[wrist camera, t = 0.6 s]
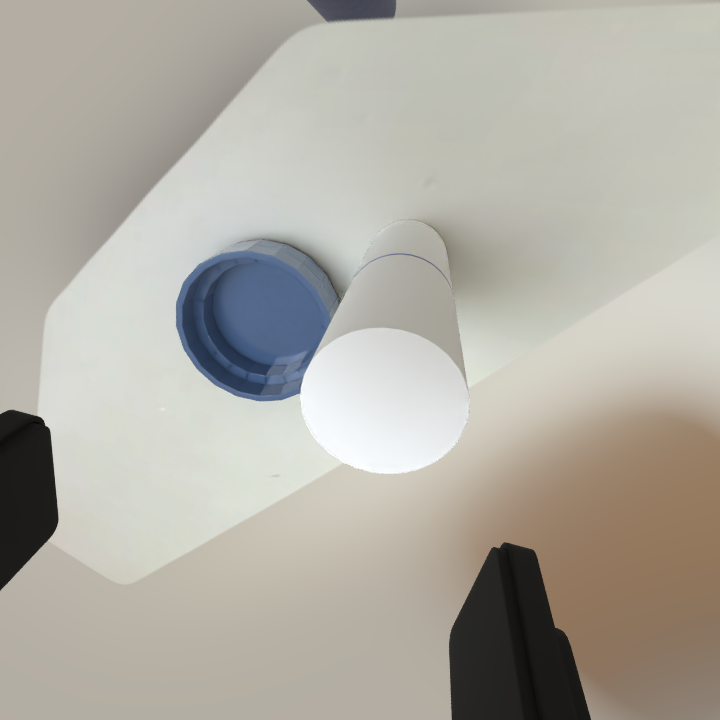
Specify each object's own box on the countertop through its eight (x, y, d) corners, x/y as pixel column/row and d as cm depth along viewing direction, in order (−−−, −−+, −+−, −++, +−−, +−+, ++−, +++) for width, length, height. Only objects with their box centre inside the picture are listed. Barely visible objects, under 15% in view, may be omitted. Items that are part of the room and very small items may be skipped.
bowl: (229, 209, 42) (205, 219, 38) (367, 286, 44) (361, 304, 39) (182, 334, 49) (157, 355, 44) (304, 398, 50) (292, 425, 46)
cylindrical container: (450, 220, 40) (477, 331, 18) (444, 300, 43) (462, 479, 21) (367, 219, 41) (294, 323, 19) (367, 297, 44) (305, 467, 22)
